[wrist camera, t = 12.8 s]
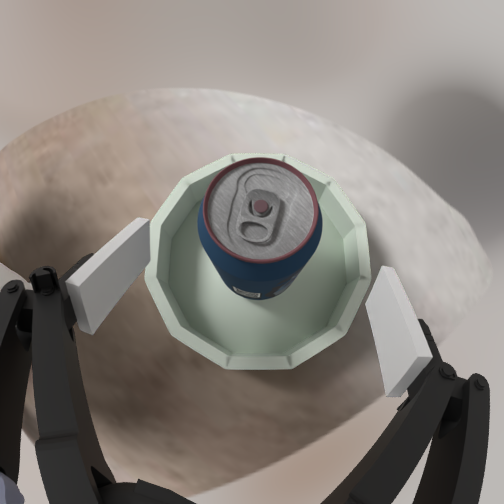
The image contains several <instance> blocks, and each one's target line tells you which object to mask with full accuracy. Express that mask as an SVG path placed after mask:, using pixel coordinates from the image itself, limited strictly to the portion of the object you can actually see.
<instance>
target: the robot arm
mask: <svg viewBox="0 0 504 504" xmlns="http://www.w3.org/2000/svg"><path fill="white" fill-rule="evenodd" d="M150 261H151V257H150V225H149V219H145V218H139V217H138V218H136V219H135V220H134V221H133V222H131V223H130V224H129V225H128V226H127V227H125V228H124V229H123V230H122V231H121V232H119V233H118V234H117V235H116V236H115V237H114V238H112V239H111V240H110V241H109V242H108V243H107V244H105V245H104V246H103V247H102V248H101V249H100V250H99V251H98V252H96V253H95V254H93V253H91V254H89V255H87V256H85V257H83V258H82V259H81V260H79V261H78V262H77V264H75V265H74V266H73V267H72V269H70V270H68V271H67V272H66V273H65V274H64V275H63V276H62V277H61V278H60V279H59V280H58V278H57V274H56V270H55V269H54V268H53V267H50V266H43V267H40V268H37V269H36V270H34V271H33V272H32V273H31V274H30V277H29V278H30V281H31V284H32V287H33V290H28V289H25V286H24V283H23V282H22V281H21V280H17V279H16V280H11V281H9V282H8V283H6V284H5V285H4V286H3V288H2V289H1V291H0V504H24V497H23V495H22V494H21V493H20V491H19V489H18V486H17V481H18V474H19V463H20V442H21V428H22V418H23V410H24V402H25V395H26V389H27V383H28V378H29V373H30V368H31V363H32V371H33V387H34V398H35V407H36V415H37V422H38V428H39V435H40V438H39V440H37V441H36V442H35V450H36V455H37V461H38V465H39V469H40V473H41V477H42V481H43V484H44V488H45V491H46V494H47V497H48V500H49V504H196V503H194V502H192V501H190V500H188V499H186V498H184V497H182V496H180V495H178V494H177V493H175V492H173V491H171V490H169V489H166V488H163V487H160V486H157V485H154V484H151V483H148V482H145V481H143V480H140V479H138V481H137V483H130V482H122V483H116V481H115V478H114V476H113V474H112V472H111V470H110V468H109V467H108V465H107V463H106V461H105V459H104V456H103V454H102V451H101V448H100V445H99V442H98V439H97V435H96V432H95V429H94V426H93V422H92V418H91V415H90V411H89V407H88V403H87V399H86V395H85V391H84V386H83V381H82V376H81V371H80V366H79V360H78V354H77V348H76V341H75V333H74V329H73V325H74V324H75V322H76V321H77V323H78V326H79V329H80V330H81V331H83V332H86V333H88V334H91V335H93V334H94V333H95V331H96V330H97V329H98V327H99V326H100V325H101V323H102V322H103V321H104V319H105V318H106V317H107V315H108V314H109V313H110V311H111V310H112V309H113V307H114V306H115V305H116V303H117V302H118V301H119V300H120V298H121V297H122V296H123V295H124V293H125V292H126V291H127V289H128V288H129V287H130V286H131V284H132V283H133V282H134V281H135V279H136V278H137V277H138V276H139V275H140V273H141V272H142V271H143V270H144V268H145V267H146V266H147V265H148V264H149V262H150ZM365 306H366V309H367V313H368V317H369V321H370V325H371V329H372V333H373V337H374V341H375V345H376V350H377V354H378V359H379V363H380V368H381V373H382V378H383V383H384V388H385V394H386V397H401V395H402V394H403V393H404V392H405V391H406V390H408V395H409V396H408V398H407V399H406V400H405V401H404V402H403V403H402V404H401V405H400V406H399V407H398V408H397V410H398V412H397V413H396V415H395V416H394V418H393V419H392V421H391V422H390V423H389V425H388V426H387V428H386V429H385V430H384V432H383V433H382V434H381V436H380V437H379V438H378V440H377V441H376V443H375V444H374V445H373V446H372V448H371V449H370V450H369V451H368V453H367V454H366V455H365V456H364V458H363V459H362V460H361V461H360V462H359V464H358V465H357V466H356V467H355V468H354V469H353V470H352V472H351V473H350V474H349V475H348V476H347V477H346V478H345V479H344V480H343V482H342V483H341V484H340V485H339V486H338V487H337V488H336V489H335V490H334V491H333V492H332V493H331V494H330V495H329V496H328V497H327V498H326V499H325V500H324V501H323V502H322V503H321V504H391V503H392V502H393V501H394V499H395V498H396V496H397V495H398V494H399V492H400V491H401V489H402V488H403V486H404V485H405V483H406V482H407V480H408V479H409V477H410V475H411V474H412V472H413V471H414V469H415V467H416V465H417V464H418V462H419V460H420V459H421V457H422V455H423V453H424V452H425V450H426V448H427V446H428V444H429V442H430V440H431V438H432V437H433V438H432V442H431V446H430V451H429V454H428V458H427V462H426V465H425V468H424V472H423V475H422V478H421V481H420V484H419V487H418V490H417V493H416V495H415V498H414V501H413V503H412V504H478V502H479V498H480V493H481V488H482V483H483V477H484V472H485V464H486V457H487V448H488V436H489V418H490V417H489V416H490V389H489V384H488V382H487V380H486V379H485V377H483V376H482V375H480V374H477V373H475V374H472V375H471V377H470V378H469V379H468V380H466V379H463V378H460V377H457V374H456V371H455V370H454V368H453V367H452V366H451V365H449V364H448V363H446V362H443V361H442V359H441V356H440V354H439V351H438V348H437V346H436V344H435V342H434V339H433V336H431V332H430V329H429V327H428V326H427V325H426V323H425V322H424V321H423V320H422V319H417V317H416V314H415V312H414V310H413V307H412V305H411V303H410V301H409V299H408V296H407V294H406V292H405V290H404V288H403V286H402V284H401V282H400V280H399V278H398V276H397V274H396V272H395V270H394V268H392V267H387V266H382V267H381V269H380V271H379V274H378V276H377V279H376V281H375V283H374V286H373V288H372V290H371V292H370V295H369V297H368V299H367V301H366V303H365Z"/></svg>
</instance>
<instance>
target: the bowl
mask: <svg viewBox="0 0 504 504" xmlns="http://www.w3.org/2000/svg"><path fill="white" fill-rule="evenodd" d="M254 157H267V158H273V159H277V160H280V161H283V162H285V163H288V164H290V165H291V166H293V167H295V168H296V169H297V170H299V171H300V172H301V173H302V174H303V175H304V176H305V177H306V178H307V180H308V181H309V182H310V184H311V185H312V187H313V189H314V191H315V194H316V197H317V201H318V203H319V206H320V209H321V213H322V220H323V227H322V235H321V239H320V242H319V245H318V247H317V249H316V251H315V253H314V254H313V256H312V257H311V258H310V260H309V261H308V262H307V264H306V265H305V266H304V268H303V269H302V271H301V272H300V273H299V274H298V276H297V277H296V278H295V280H294V281H293V282H292V284H291V285H290V286H289V287H288V288H287V289H286V290H285V291H284V292H282V293H281V294H279V295H277V296H275V297H273V298H270V299H265V300H251V299H247V298H243V297H241V296H239V295H237V294H235V293H234V292H233V291H231V290H230V289H229V288H228V287H227V286H226V284H225V283H224V282H223V280H222V278H221V277H220V275H219V274H218V272H217V270H216V269H215V267H214V265H213V264H212V262H211V260H210V258H209V257H208V255H207V253H206V252H205V250H204V248H203V246H202V244H201V241H200V238H199V234H198V227H197V220H198V212H199V208H200V205H201V202H202V200H203V198H204V196H205V193H206V191H207V188H208V186H209V184H210V183H211V181H212V180H213V179H214V177H215V176H216V175H217V174H218V173H219V172H220V171H222V170H223V169H224V168H226V167H227V166H229V165H231V164H233V163H235V162H237V161H240V160H243V159H247V158H254ZM150 257H151V261H150V262H149V264H148V265H147V266H146V267H145V279H144V280H145V282H146V285H147V287H148V289H149V291H150V293H151V295H152V298H153V300H154V302H155V304H156V306H157V308H158V310H159V312H160V314H161V316H162V318H163V320H164V322H165V324H166V326H167V328H168V330H169V332H170V334H171V335H172V336H173V337H175V338H176V339H178V340H179V341H181V342H182V343H184V344H185V345H187V346H188V347H190V348H192V349H193V350H195V351H196V352H198V353H199V354H201V355H203V356H204V357H206V358H208V359H209V360H211V361H212V362H214V363H216V364H218V365H219V366H221V367H223V368H224V369H232V370H279V369H293V368H294V367H296V366H298V365H299V364H301V363H303V362H304V361H306V360H308V359H309V358H311V357H312V356H314V355H316V354H317V353H319V352H320V351H322V350H323V349H325V348H327V347H328V346H330V345H331V344H333V343H334V342H336V341H337V340H339V339H340V338H342V337H343V336H345V335H346V333H347V331H348V329H349V327H350V325H351V323H352V321H353V319H354V317H355V315H356V313H357V311H358V309H359V307H360V304H361V302H362V300H363V298H364V296H365V294H366V291H367V289H368V287H369V285H370V282H371V268H370V257H369V247H368V239H367V231H366V223H365V222H364V220H363V219H362V217H361V216H360V214H359V213H358V212H357V210H356V209H355V207H354V206H353V204H352V203H351V202H350V200H349V199H348V197H347V196H346V195H345V193H344V192H343V190H342V189H341V188H340V186H339V185H338V184H337V182H336V181H335V180H334V179H333V178H332V177H330V176H328V175H326V174H324V173H322V172H320V171H319V170H317V169H315V168H313V167H311V166H309V165H307V164H305V163H303V162H301V161H299V160H297V159H295V158H293V157H291V156H288V155H286V154H265V153H240V154H229V155H227V156H225V157H223V158H221V159H219V160H217V161H215V162H213V163H211V164H208V165H206V166H204V167H202V168H200V169H199V170H197V171H195V172H193V173H191V174H189V175H187V176H185V177H183V178H182V179H181V180H180V182H179V183H178V184H177V186H176V187H175V188H174V190H173V191H172V193H171V194H170V195H169V197H168V198H167V199H166V201H165V202H164V204H163V205H162V206H161V208H160V209H159V211H158V212H157V214H156V215H155V217H154V218H153V219H152V221H151V222H150Z"/></svg>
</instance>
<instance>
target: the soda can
mask: <svg viewBox="0 0 504 504" xmlns="http://www.w3.org/2000/svg"><path fill="white" fill-rule="evenodd" d="M197 227H198V234H199V238H200V241H201V244H202V246H203V248H204V250H205V252H206V253H207V255H208V257H209V258H210V260H211V262H212V264H213V265H214V267H215V269H216V270H217V272H218V274H219V275H220V277H221V278H222V280H223V282H224V283H225V284H226V286H227V287H228V288H229V289H230V290H231V291H233V292H234V293H235V294H237V295H239V296H241V297H243V298H247V299H251V300H265V299H270V298H273V297H275V296H277V295H279V294H281V293H282V292H284V291H285V290H286V289H287V288H288V287H289V286H290V285H291V284H292V282H293V281H294V280H295V278H296V277H297V276H298V274H299V273H300V272H301V271H302V269H303V268H304V266H305V265H306V264H307V262H308V261H309V260H310V258H311V257H312V256H313V254H314V253H315V251H316V249H317V247H318V245H319V242H320V239H321V235H322V227H323V220H322V213H321V209H320V206H319V203H318V201H317V197H316V194H315V191H314V189H313V187H312V185H311V184H310V182H309V181H308V180H307V178H306V177H305V176H304V175H303V174H302V173H301V172H300V171H299V170H297V169H296V168H295V167H293V166H291V165H290V164H288V163H285V162H283V161H280V160H277V159H273V158H267V157H254V158H247V159H243V160H240V161H237V162H235V163H233V164H231V165H229V166H227V167H226V168H224V169H223V170H222V171H220V172H219V173H218V174H217V175H216V176H215V177H214V179H213V180H212V181H211V183H210V184H209V186H208V188H207V191H206V193H205V196H204V198H203V200H202V202H201V205H200V208H199V212H198V220H197Z"/></svg>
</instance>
